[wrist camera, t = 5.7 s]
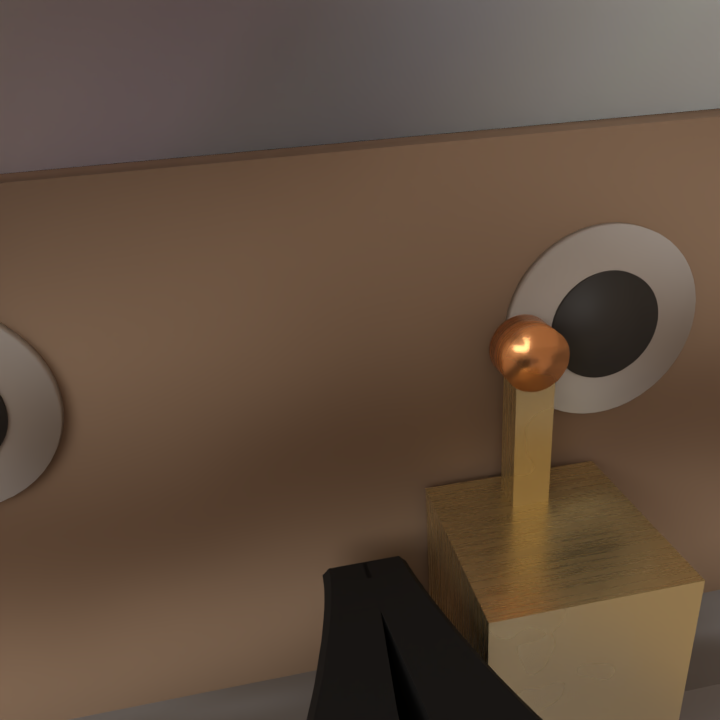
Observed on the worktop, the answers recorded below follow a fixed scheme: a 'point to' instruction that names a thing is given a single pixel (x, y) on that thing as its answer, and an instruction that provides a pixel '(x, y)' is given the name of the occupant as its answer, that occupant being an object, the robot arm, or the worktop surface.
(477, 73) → the worktop surface
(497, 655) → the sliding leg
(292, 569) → the hole plate
